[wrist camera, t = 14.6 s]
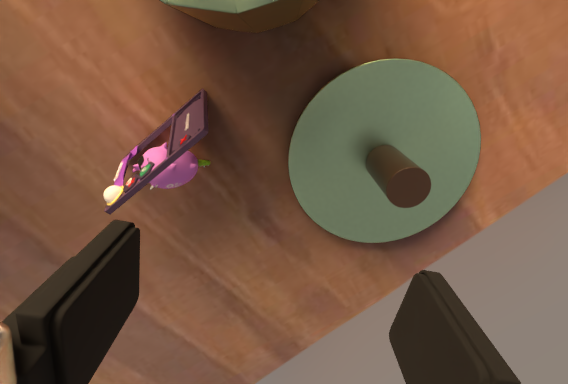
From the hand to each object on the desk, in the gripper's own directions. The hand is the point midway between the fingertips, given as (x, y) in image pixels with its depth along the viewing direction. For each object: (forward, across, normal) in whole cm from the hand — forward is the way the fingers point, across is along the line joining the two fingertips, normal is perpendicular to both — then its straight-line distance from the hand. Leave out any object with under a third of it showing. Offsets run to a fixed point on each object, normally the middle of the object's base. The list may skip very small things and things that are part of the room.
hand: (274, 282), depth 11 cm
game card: (+16, +8, +1) cm, 18 cm away
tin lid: (+16, -8, -1) cm, 18 cm away
